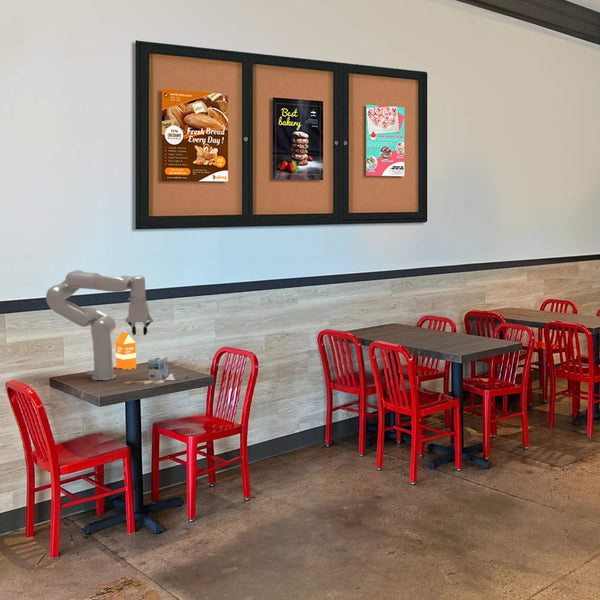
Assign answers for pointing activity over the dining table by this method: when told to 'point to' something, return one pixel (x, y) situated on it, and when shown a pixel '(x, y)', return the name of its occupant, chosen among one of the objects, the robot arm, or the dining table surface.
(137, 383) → the beech turner
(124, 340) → the orange juice
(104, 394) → the dining table surface
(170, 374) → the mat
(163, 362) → the light bulb box
